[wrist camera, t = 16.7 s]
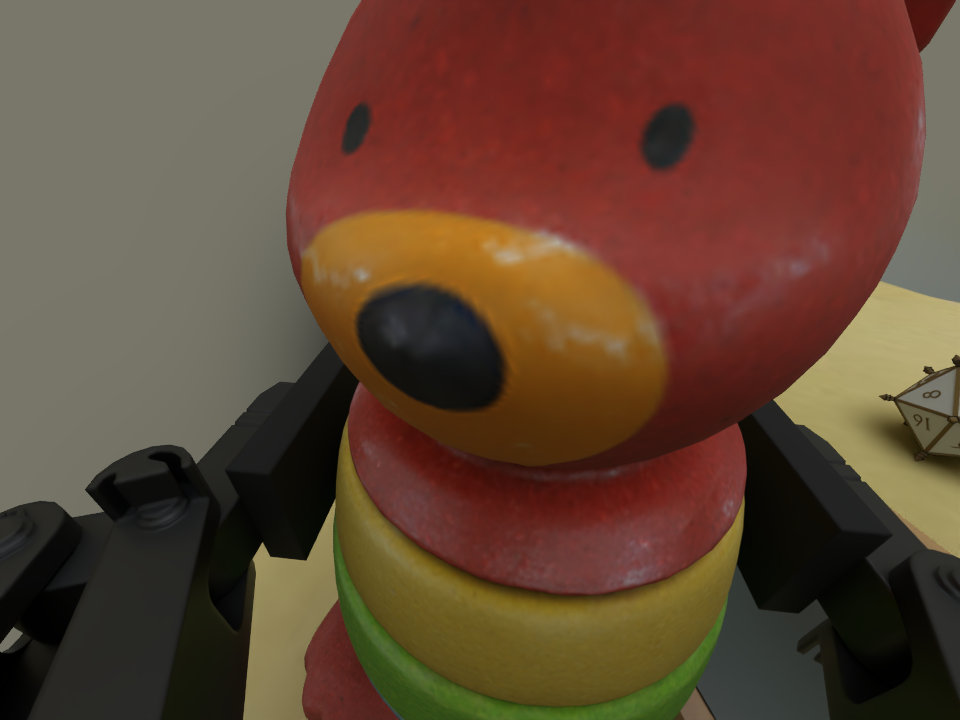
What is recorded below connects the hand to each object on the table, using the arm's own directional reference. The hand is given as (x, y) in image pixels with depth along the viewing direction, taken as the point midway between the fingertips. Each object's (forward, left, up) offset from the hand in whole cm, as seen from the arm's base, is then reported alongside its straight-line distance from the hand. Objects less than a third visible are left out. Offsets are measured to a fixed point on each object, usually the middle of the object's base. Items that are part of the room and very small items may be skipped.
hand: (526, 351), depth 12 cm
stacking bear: (+2, +4, -10) cm, 11 cm away
